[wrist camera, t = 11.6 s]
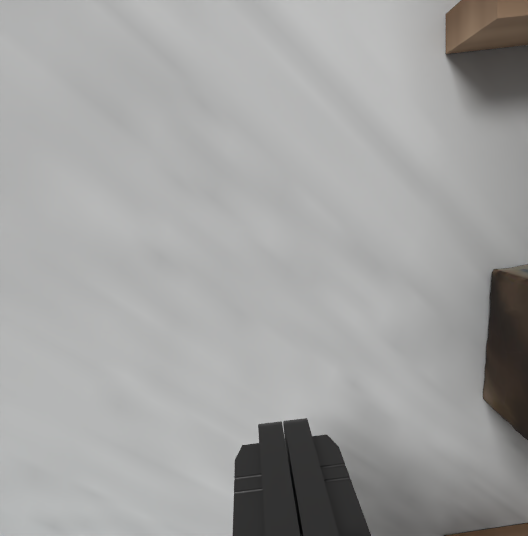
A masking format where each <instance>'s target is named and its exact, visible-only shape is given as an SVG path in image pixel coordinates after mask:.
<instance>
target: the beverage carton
mask: <svg viewBox="0 0 528 536" xmlns="http://www.w3.org/2000/svg"><path fill="white" fill-rule="evenodd" d="M490 299H491V307H490V319H489V337H488V340H487V356H486V367H485V382H484V389H483V398H484V400H485V401H486V402H487V403H488V404H489V405H490V406H491V407H492V408H493V409H494V410H495V411H496V412H497V413H499V414H500V415H501V416H502V417H503V418H504V419H505V420H506V421H507V422H509V423H510V424H511V425H512V426H513V427H514V429H515V430H516V431H518V432H519V433H520V434H521V435H522V436H523V437H524V438H526V439H527V440H528V265H522V266H517V267H512V268H504V269H494V270H493V272H492V284H491V293H490Z"/></svg>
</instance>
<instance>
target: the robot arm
mask: <svg viewBox="0 0 528 536" xmlns="http://www.w3.org/2000/svg"><path fill="white" fill-rule="evenodd" d="M283 423H284V433H283V427H282V422H273V423H265V424H258V428H259V443H257V444H249V445H242V447H241V449H240V451H239V453H238V455H237V457H236V459H235V480H234V513H233V536H371V534H370V532H369V529H368V526H367V523H366V521H365V518H364V515H363V512H362V510H361V507H360V504H359V501H358V499H357V496H356V493H355V490H354V488H353V485H352V482H351V480H350V477H349V474H348V471H347V468H346V466H345V463H344V460H343V457H342V455H341V452H340V449H339V447H338V446H337V445H336V444H335V443H334V442H333V441H332V439H331V438H330V437H329V436H328V435H321V436H313V437H312V435H311V431H310V427H309V424H308V420H307V418H305V419H297V420H289V421H283ZM284 435H285V439H284Z"/></svg>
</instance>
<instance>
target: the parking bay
mask: <svg viewBox="0 0 528 536" xmlns="http://www.w3.org/2000/svg"><path fill="white" fill-rule="evenodd" d="M523 45H528V0H461V1H460V2H459V3H458V4H457V5H456V6H454V7H453V8H452V9H451V10H450V11H449V12H448V13H447V14H446V54H451V53H460V52H469V51H478V50H487V49H496V48H505V47H514V46H523ZM445 536H528V523H525V524H518V525H512V526H505V527H498V528H492V529H485V530H478V531H472V532H465V533H459V534H452V535H445Z"/></svg>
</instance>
